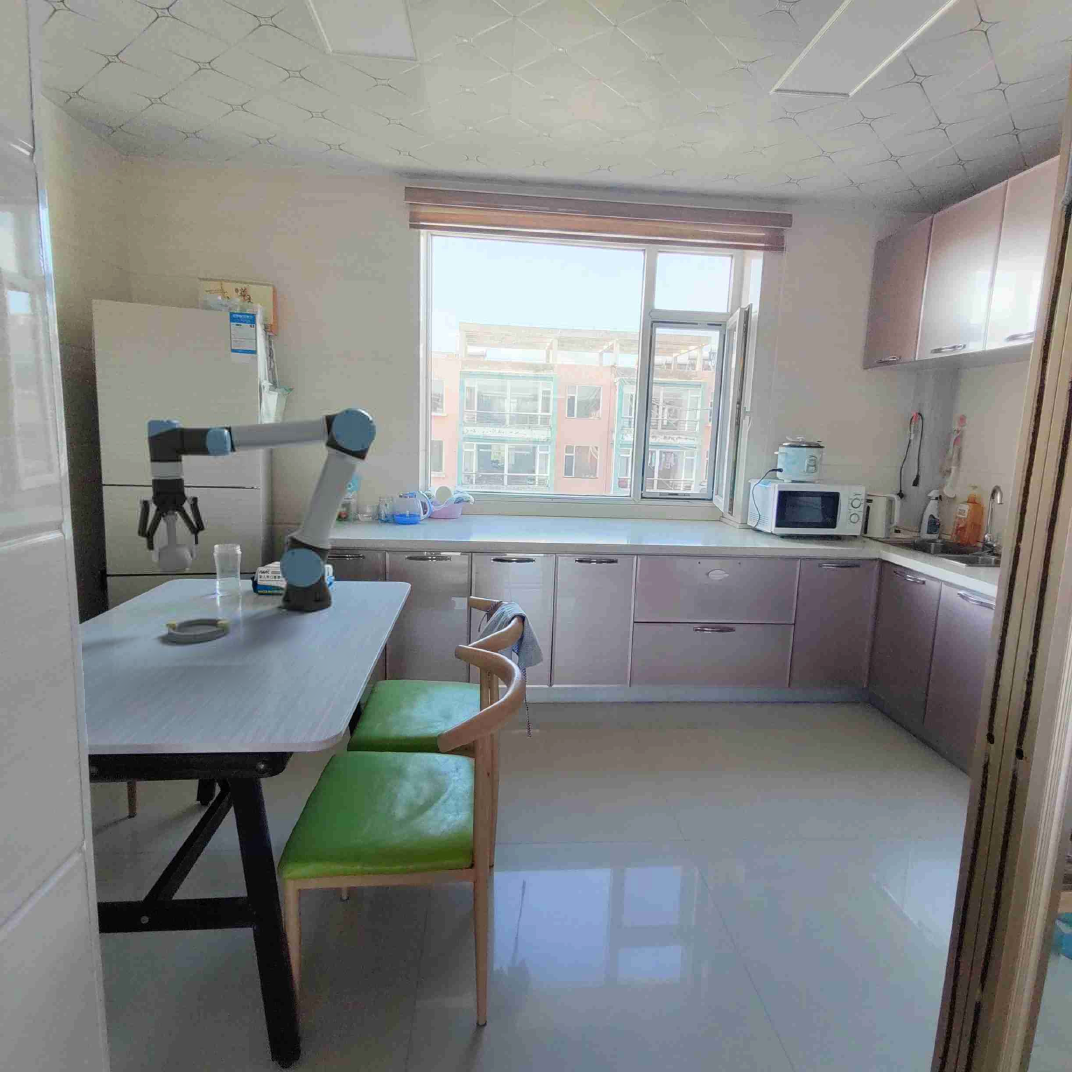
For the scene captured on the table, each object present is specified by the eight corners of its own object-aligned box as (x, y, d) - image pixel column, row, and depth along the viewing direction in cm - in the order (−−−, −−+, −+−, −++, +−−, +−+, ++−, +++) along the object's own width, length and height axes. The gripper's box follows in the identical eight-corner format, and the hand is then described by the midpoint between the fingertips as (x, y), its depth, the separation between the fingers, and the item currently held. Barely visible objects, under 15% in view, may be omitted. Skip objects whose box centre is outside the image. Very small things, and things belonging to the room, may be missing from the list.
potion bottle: (199, 568, 174) (194, 505, 171) (177, 575, 166) (172, 509, 163) (171, 566, 176) (166, 504, 172) (148, 574, 167) (142, 508, 164)
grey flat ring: (238, 624, 175) (237, 613, 175) (218, 642, 161) (217, 630, 160) (181, 625, 173) (180, 614, 173) (155, 643, 159) (154, 631, 158)
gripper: (203, 474, 177) (209, 551, 181) (117, 478, 160) (125, 562, 164) (214, 476, 172) (220, 555, 176) (127, 480, 156) (135, 567, 160)
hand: (174, 558), depth 170 cm, fingers closed on potion bottle, 9 cm apart
